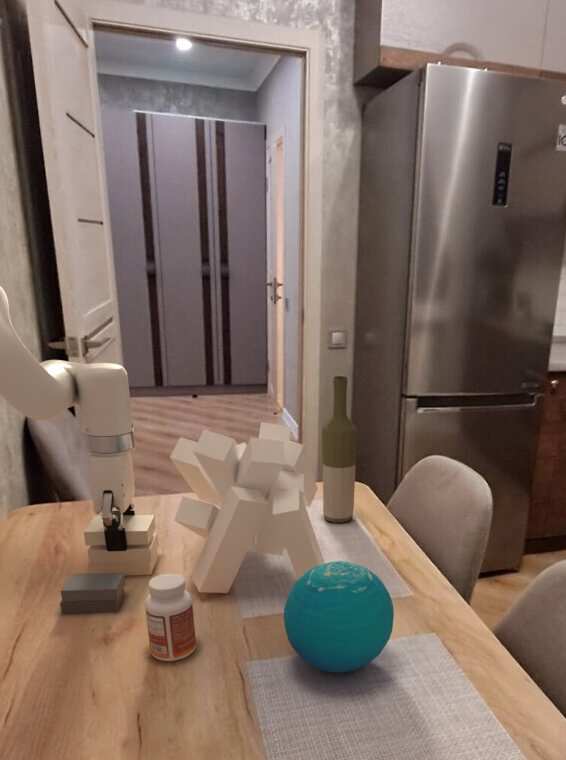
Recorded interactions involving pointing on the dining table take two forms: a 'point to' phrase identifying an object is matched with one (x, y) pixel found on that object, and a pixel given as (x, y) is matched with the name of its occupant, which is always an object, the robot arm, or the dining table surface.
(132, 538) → the cream flat block
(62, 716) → the dining table surface
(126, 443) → the robot arm
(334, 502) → the bottle
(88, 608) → the grey books
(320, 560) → the pile of blocks
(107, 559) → the white books
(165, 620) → the pill bottle
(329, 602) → the decorative orb
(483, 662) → the dining table surface
